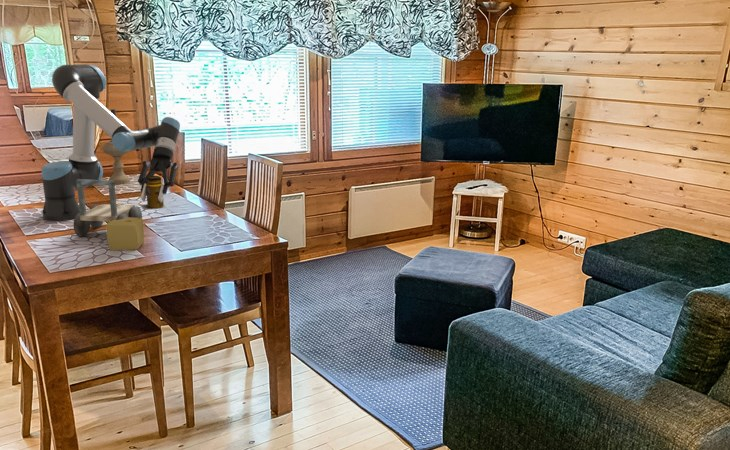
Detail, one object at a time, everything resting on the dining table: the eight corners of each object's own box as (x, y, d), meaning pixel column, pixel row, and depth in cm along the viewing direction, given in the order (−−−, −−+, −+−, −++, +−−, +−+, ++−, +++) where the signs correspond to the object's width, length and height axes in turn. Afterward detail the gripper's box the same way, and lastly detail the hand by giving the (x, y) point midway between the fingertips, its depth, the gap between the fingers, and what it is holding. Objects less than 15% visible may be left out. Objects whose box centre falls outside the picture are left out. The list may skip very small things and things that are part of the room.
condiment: (166, 208, 225) (165, 178, 221) (144, 210, 220) (142, 179, 217) (162, 203, 231) (160, 174, 227) (140, 205, 226) (137, 176, 223)
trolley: (75, 238, 221) (68, 180, 214) (100, 223, 241) (94, 170, 235) (121, 240, 221) (116, 182, 214) (142, 225, 241) (138, 171, 234)
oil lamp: (139, 182, 320) (133, 110, 309) (112, 186, 309) (105, 111, 298) (125, 178, 330) (119, 108, 319) (100, 182, 319) (92, 109, 308)
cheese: (117, 242, 219) (114, 216, 216) (146, 242, 220) (144, 217, 217) (107, 250, 209) (105, 224, 206) (138, 250, 210) (135, 224, 207)
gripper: (137, 144, 229) (123, 193, 218) (184, 146, 229) (173, 196, 218) (143, 155, 235) (130, 203, 224) (189, 157, 235) (178, 206, 224)
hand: (151, 199), depth 221 cm, fingers closed on condiment, 6 cm apart
